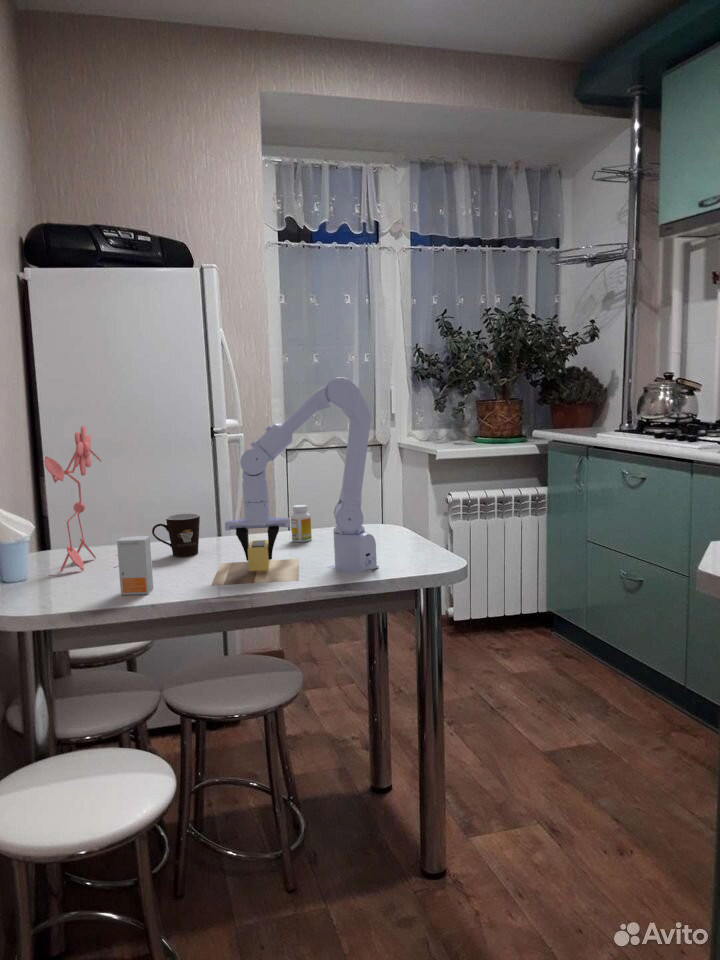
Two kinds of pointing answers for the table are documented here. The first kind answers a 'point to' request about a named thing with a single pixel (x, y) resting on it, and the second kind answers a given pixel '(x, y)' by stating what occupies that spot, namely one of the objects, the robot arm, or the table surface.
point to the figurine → (83, 461)
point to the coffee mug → (182, 534)
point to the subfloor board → (257, 573)
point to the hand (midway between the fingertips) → (259, 559)
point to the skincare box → (135, 565)
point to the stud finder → (258, 555)
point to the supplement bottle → (301, 524)
